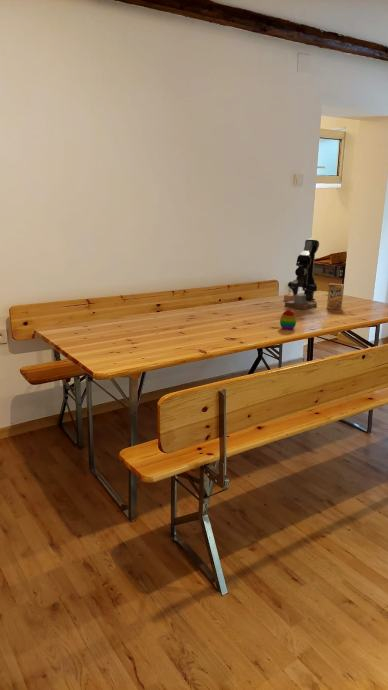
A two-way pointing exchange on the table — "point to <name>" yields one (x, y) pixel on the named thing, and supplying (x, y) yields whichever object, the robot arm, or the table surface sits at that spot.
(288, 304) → the walnut plinth
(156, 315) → the table surface
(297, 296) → the grey block
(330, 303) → the candy box
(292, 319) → the decorative egg
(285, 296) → the terracotta cube
